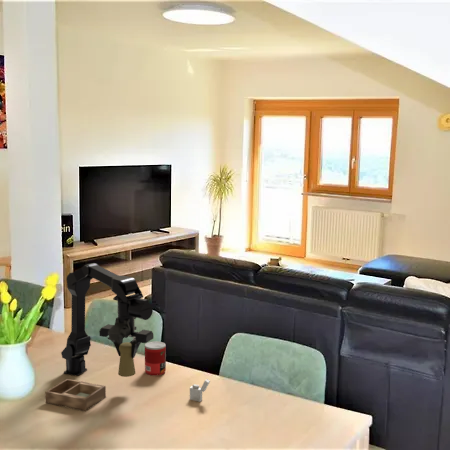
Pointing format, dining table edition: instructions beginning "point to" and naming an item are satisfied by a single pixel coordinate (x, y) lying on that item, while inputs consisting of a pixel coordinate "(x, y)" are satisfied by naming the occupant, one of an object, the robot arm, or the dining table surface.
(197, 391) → the lighter
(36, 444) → the dining table surface
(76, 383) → the socket box
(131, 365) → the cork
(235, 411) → the dining table surface
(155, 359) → the canned food
